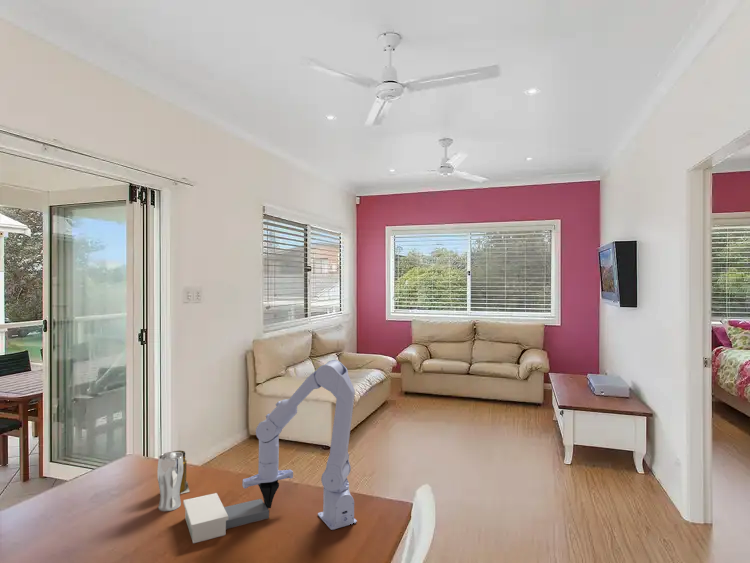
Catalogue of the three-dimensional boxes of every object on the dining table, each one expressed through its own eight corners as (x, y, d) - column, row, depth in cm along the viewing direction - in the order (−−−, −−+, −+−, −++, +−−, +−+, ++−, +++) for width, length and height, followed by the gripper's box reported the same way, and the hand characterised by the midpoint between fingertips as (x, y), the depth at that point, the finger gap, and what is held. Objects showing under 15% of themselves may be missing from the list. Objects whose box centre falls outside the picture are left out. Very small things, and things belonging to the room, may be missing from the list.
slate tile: (268, 519, 125) (269, 510, 125) (217, 532, 118) (217, 523, 118) (260, 507, 132) (261, 498, 132) (211, 518, 125) (211, 509, 125)
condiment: (164, 497, 136) (165, 458, 137) (163, 486, 144) (163, 449, 144) (189, 492, 140) (190, 454, 140) (187, 482, 147) (187, 445, 148)
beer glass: (164, 514, 126) (165, 462, 126) (152, 507, 130) (153, 456, 130) (187, 505, 132) (188, 454, 132) (175, 498, 136) (175, 449, 136)
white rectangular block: (227, 535, 116) (228, 516, 116) (191, 545, 112) (191, 525, 112) (216, 510, 129) (216, 492, 129) (183, 518, 124) (183, 500, 125)
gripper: (287, 451, 137) (287, 495, 136) (240, 460, 129) (239, 506, 129) (295, 459, 131) (295, 505, 130) (246, 468, 123) (245, 517, 123)
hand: (267, 506), depth 129 cm, fingers closed
